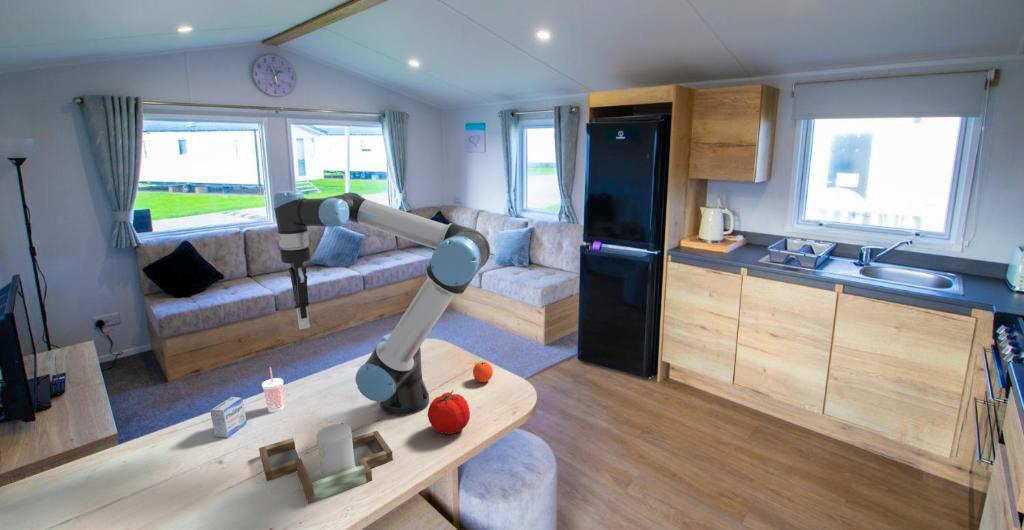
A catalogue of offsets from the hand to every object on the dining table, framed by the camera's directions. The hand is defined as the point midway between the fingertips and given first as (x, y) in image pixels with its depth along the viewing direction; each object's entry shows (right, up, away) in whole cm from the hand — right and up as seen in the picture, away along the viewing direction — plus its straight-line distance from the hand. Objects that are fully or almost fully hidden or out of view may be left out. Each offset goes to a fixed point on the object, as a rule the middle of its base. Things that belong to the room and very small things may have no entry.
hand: (304, 327), depth 146 cm
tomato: (+42, -30, 0) cm, 51 cm away
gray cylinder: (+16, -35, -19) cm, 43 cm away
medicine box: (-22, -30, +2) cm, 38 cm away
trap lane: (+12, -34, -14) cm, 38 cm away
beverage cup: (-15, -27, +14) cm, 34 cm away
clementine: (+49, -22, +30) cm, 62 cm away
